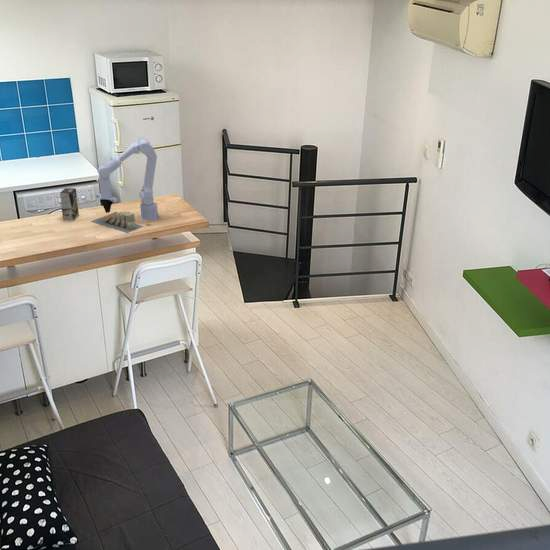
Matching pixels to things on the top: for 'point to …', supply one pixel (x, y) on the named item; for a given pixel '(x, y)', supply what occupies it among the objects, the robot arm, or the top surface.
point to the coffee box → (69, 204)
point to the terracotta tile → (109, 217)
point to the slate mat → (113, 226)
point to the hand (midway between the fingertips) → (107, 212)
